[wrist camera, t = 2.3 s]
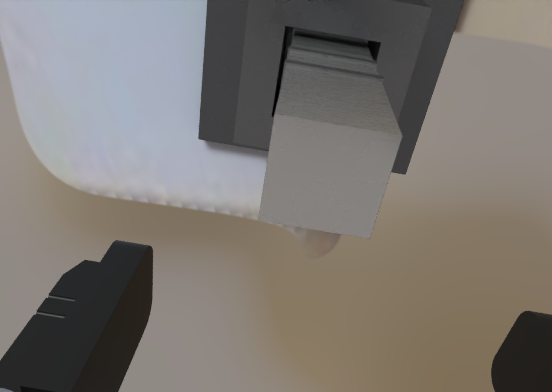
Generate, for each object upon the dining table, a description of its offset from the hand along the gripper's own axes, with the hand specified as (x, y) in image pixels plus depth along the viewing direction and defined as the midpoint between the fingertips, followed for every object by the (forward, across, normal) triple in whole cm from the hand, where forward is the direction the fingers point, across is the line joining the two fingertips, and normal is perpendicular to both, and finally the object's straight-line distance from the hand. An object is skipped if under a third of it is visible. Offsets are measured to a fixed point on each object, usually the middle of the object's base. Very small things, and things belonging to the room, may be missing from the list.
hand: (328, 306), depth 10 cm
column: (+24, 0, 0) cm, 24 cm away
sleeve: (+25, 0, 0) cm, 25 cm away
